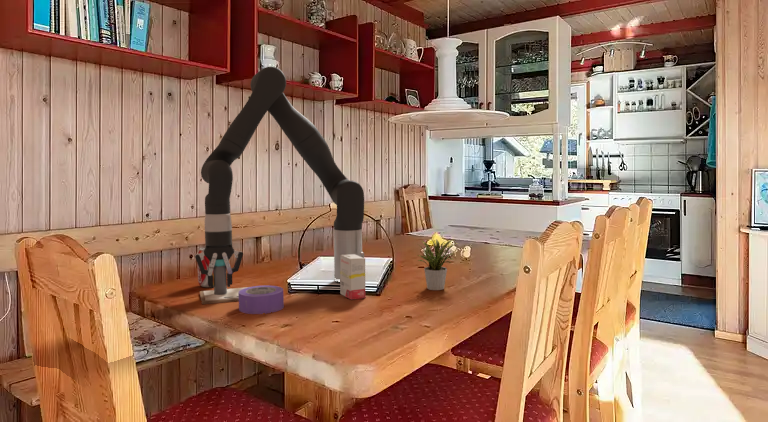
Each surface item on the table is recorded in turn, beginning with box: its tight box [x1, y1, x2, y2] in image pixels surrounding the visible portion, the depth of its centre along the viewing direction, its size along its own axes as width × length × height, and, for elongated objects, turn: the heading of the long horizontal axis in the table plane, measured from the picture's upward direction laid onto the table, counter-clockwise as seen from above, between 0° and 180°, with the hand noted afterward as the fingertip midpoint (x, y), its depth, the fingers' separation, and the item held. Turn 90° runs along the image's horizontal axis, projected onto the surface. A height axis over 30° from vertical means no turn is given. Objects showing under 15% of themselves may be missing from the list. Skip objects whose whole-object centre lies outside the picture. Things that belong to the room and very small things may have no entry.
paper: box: [199, 286, 249, 305], centre depth 157 cm, size 19×14×1 cm
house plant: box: [416, 237, 459, 291], centre depth 165 cm, size 14×14×16 cm
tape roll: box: [238, 284, 285, 315], centre depth 143 cm, size 12×12×5 cm
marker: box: [213, 259, 228, 295], centre depth 156 cm, size 4×4×10 cm
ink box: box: [339, 254, 366, 301], centre depth 156 cm, size 9×5×12 cm, turn 25°
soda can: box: [196, 247, 214, 288], centre depth 171 cm, size 7×7×12 cm
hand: (220, 286), depth 157 cm, fingers open, 4 cm apart
